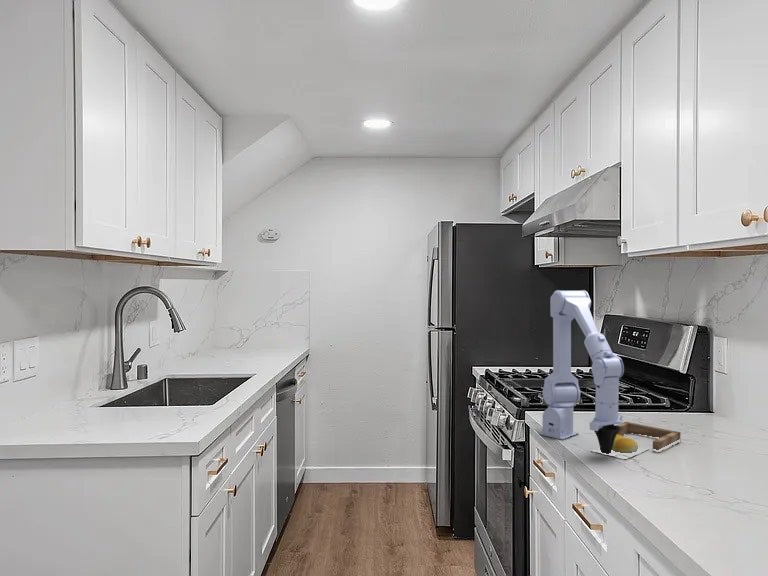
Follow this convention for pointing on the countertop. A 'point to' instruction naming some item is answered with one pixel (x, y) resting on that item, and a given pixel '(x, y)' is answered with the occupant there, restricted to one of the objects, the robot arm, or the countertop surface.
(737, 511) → the countertop surface
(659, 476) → the countertop surface
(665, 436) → the frame
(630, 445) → the bread roll
